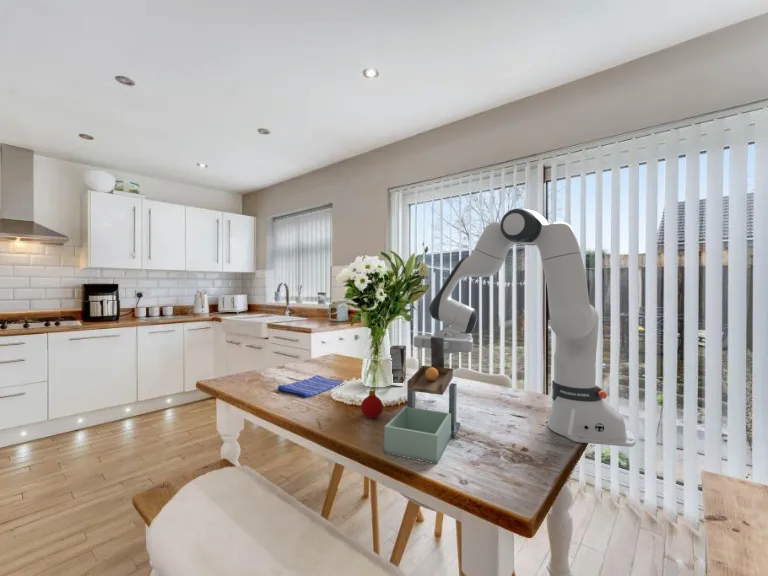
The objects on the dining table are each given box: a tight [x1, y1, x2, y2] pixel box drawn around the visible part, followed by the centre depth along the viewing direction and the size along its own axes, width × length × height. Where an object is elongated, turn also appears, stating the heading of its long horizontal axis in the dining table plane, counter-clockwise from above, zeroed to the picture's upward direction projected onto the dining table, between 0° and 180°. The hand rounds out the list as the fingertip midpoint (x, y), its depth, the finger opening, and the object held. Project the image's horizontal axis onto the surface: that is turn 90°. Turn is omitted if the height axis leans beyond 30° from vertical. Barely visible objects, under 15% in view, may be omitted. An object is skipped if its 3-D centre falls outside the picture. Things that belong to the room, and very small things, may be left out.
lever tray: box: [408, 337, 454, 396], centre depth 108 cm, size 10×15×12 cm, turn 157°
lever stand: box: [406, 377, 461, 439], centre depth 108 cm, size 16×9×14 cm, turn 67°
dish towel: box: [277, 374, 344, 399], centre depth 149 cm, size 17×24×3 cm
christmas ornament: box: [360, 387, 384, 419], centre depth 116 cm, size 7×7×10 cm
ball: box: [425, 367, 438, 381], centre depth 108 cm, size 4×4×4 cm
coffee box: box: [389, 345, 407, 383], centre depth 155 cm, size 9×6×16 cm
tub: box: [383, 406, 452, 464], centre depth 97 cm, size 14×16×7 cm
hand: (437, 346), depth 115 cm, fingers closed, pressing on lever tray
